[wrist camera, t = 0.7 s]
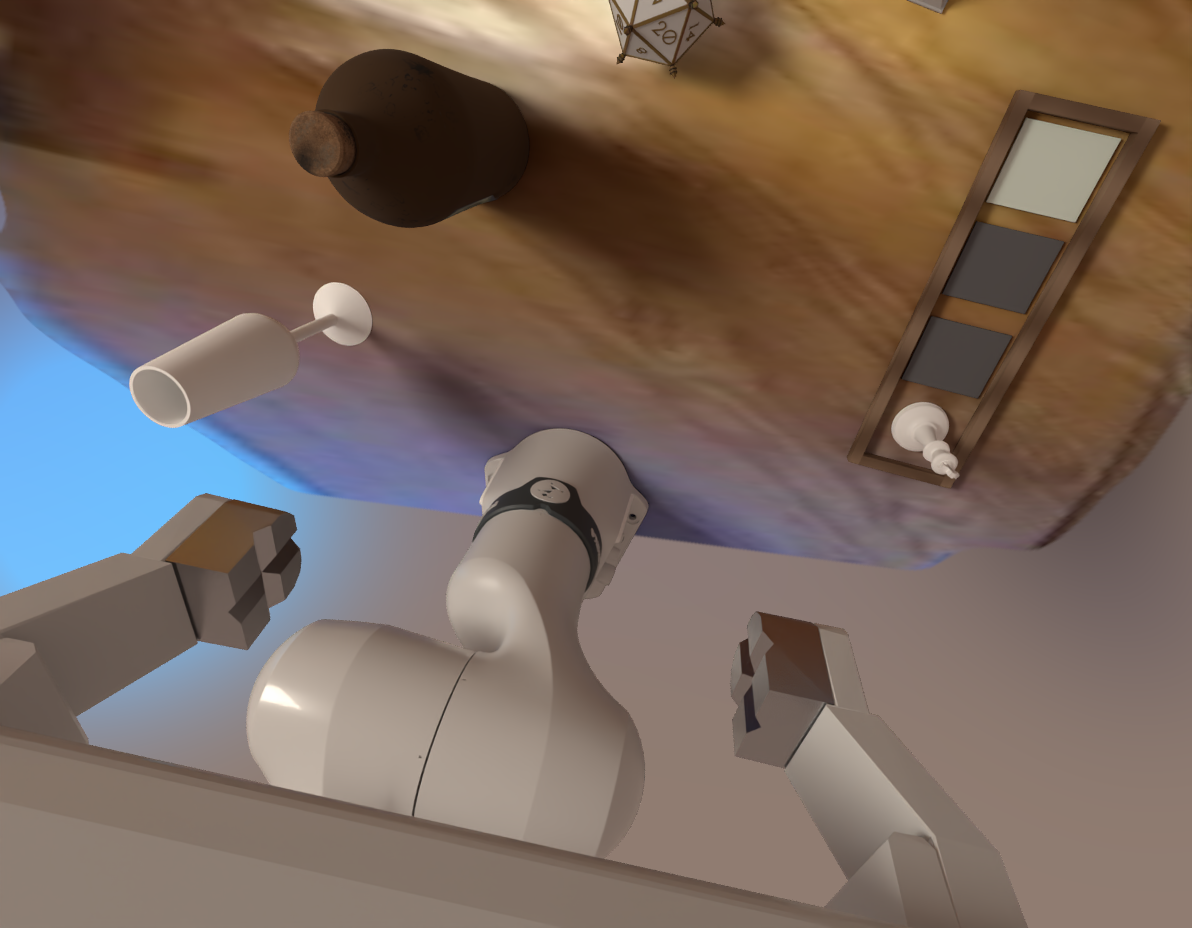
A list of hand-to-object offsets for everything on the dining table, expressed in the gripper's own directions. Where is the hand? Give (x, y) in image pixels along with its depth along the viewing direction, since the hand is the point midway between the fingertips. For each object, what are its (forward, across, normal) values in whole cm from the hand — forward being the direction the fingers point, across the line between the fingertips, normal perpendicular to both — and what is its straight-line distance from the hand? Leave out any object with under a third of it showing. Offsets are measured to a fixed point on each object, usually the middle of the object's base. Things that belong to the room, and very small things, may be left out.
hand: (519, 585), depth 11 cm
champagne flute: (+51, -30, -20) cm, 63 cm away
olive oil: (+52, -16, -2) cm, 55 cm away
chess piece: (+47, +30, -18) cm, 58 cm away
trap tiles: (+48, +30, -7) cm, 57 cm away
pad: (+49, +30, +5) cm, 58 cm away
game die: (+52, -2, +10) cm, 53 cm away
